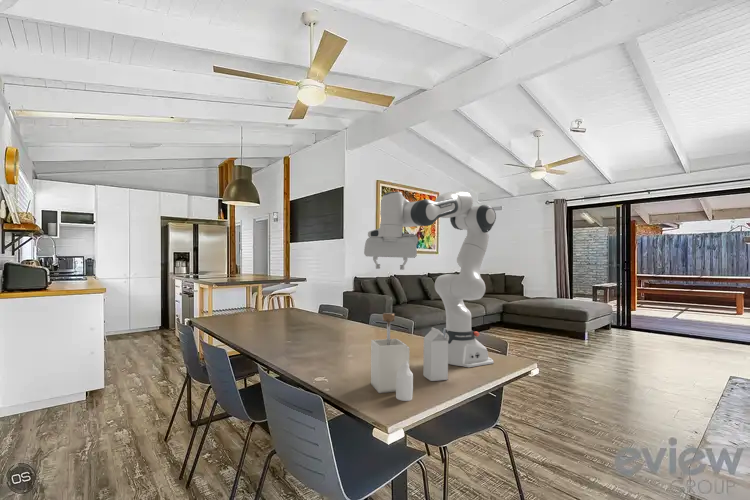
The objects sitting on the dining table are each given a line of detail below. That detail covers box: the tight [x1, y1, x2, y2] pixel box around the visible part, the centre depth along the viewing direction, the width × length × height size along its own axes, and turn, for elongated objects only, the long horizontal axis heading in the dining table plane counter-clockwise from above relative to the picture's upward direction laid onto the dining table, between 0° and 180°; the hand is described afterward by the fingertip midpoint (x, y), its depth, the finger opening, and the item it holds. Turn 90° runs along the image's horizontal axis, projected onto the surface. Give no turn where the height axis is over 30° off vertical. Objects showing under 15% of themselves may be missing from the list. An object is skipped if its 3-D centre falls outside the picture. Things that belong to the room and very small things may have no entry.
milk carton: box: [422, 327, 449, 382], centre depth 145 cm, size 7×7×19 cm
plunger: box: [382, 312, 396, 345], centre depth 135 cm, size 8×8×16 cm
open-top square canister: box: [370, 338, 410, 394], centre depth 135 cm, size 13×10×16 cm
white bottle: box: [395, 362, 414, 402], centre depth 125 cm, size 6×12×6 cm
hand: (389, 269), depth 145 cm, fingers open, 8 cm apart
